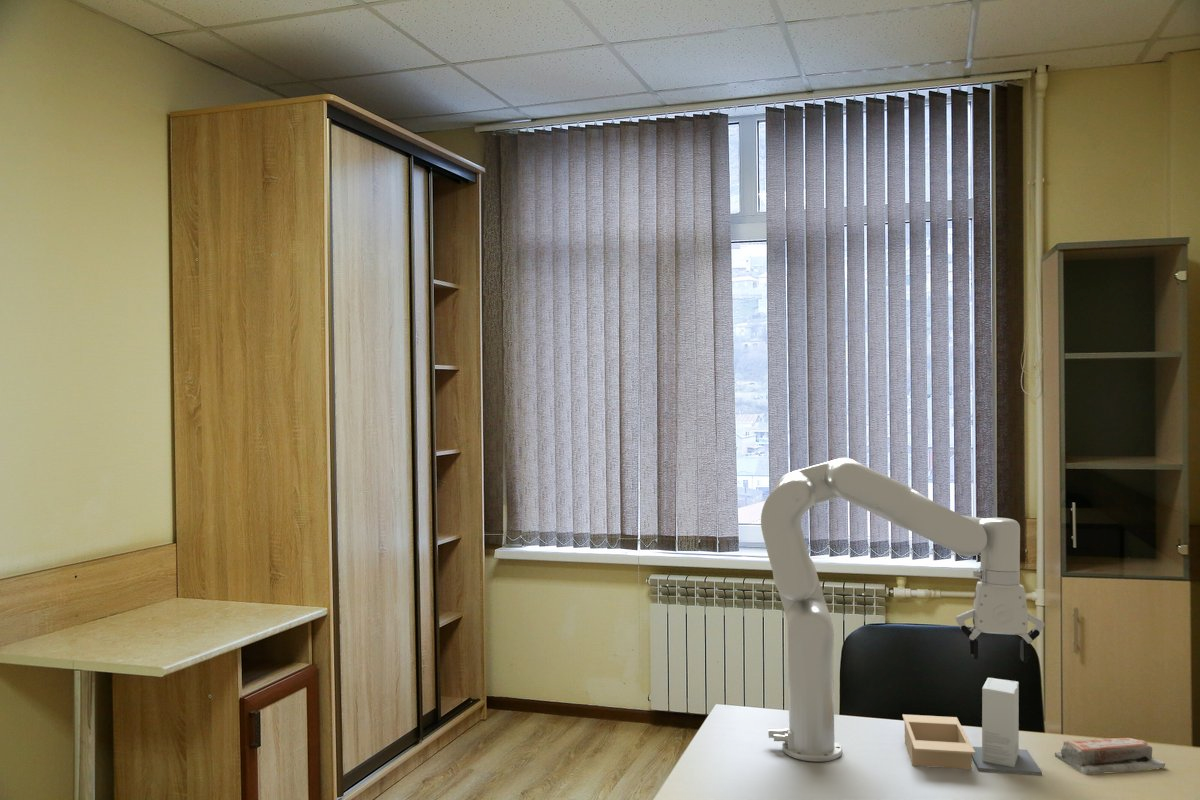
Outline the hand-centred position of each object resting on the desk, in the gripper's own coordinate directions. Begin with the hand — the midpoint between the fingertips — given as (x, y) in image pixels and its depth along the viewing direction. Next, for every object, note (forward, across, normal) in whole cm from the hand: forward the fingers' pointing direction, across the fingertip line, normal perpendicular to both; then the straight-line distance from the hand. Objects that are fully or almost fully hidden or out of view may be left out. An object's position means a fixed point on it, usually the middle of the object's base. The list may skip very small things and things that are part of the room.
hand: (999, 659), depth 190 cm
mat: (+21, +1, 0) cm, 21 cm away
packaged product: (+22, +22, +3) cm, 31 cm away
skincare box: (+21, +1, 0) cm, 21 cm away
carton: (+22, -12, +1) cm, 25 cm away
